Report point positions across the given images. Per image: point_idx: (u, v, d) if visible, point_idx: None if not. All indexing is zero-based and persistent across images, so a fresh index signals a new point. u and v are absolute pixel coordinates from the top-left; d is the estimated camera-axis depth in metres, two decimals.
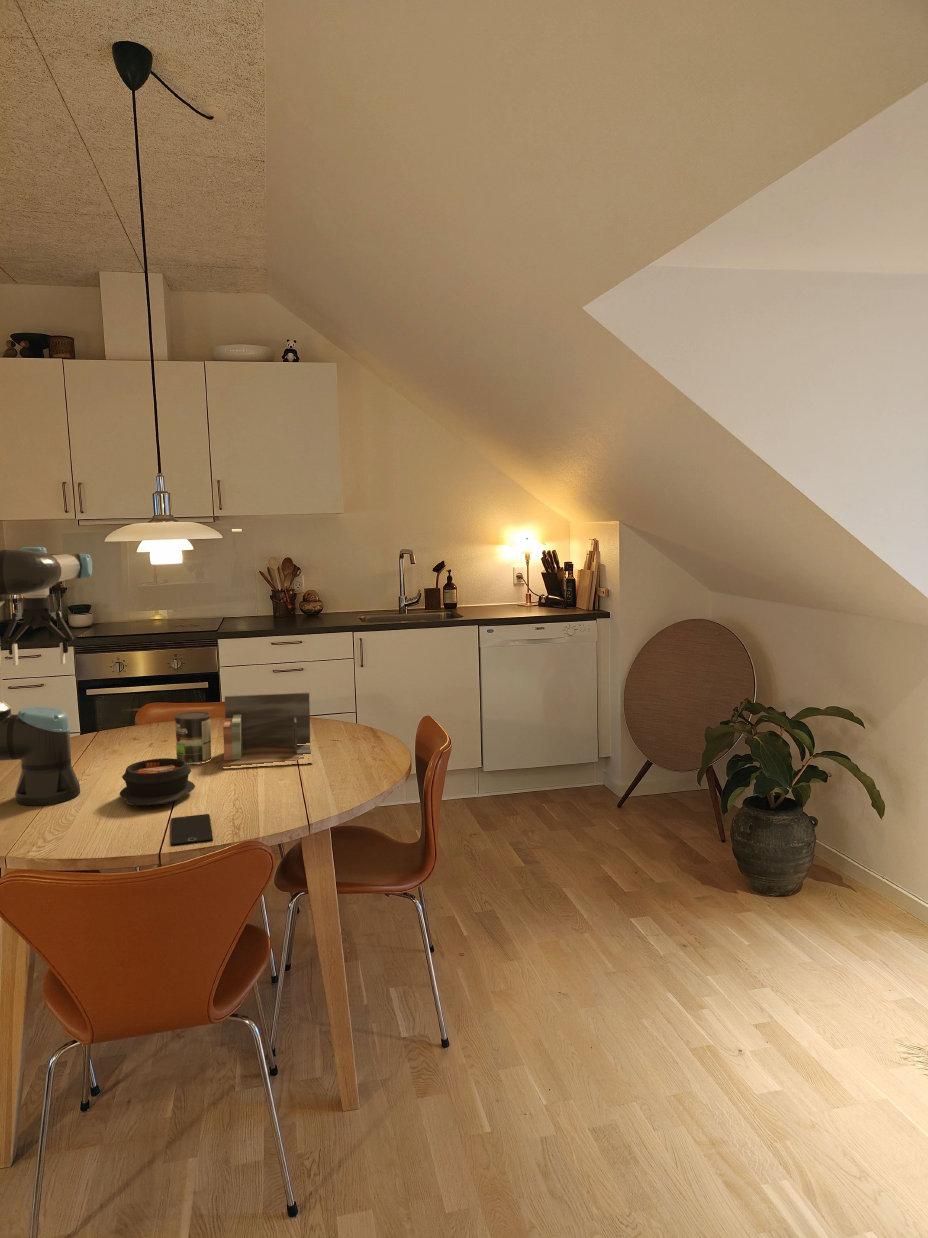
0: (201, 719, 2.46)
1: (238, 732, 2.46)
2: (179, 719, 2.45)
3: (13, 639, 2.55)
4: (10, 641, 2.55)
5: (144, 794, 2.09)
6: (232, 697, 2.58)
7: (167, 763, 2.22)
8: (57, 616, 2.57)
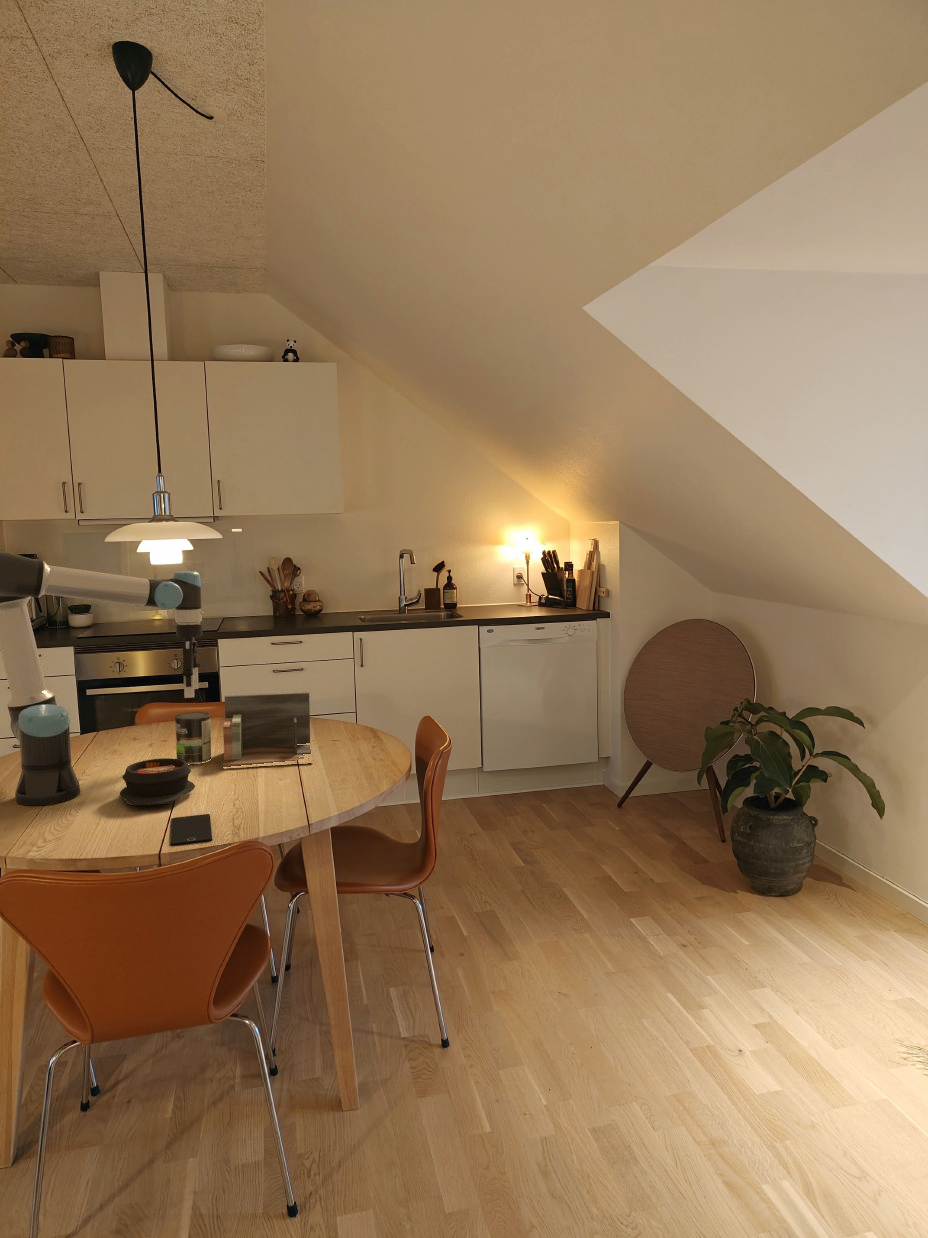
0: (201, 719, 2.46)
1: (238, 732, 2.46)
2: (179, 719, 2.45)
3: None
4: None
5: (144, 794, 2.09)
6: (232, 697, 2.58)
7: (167, 763, 2.22)
8: None
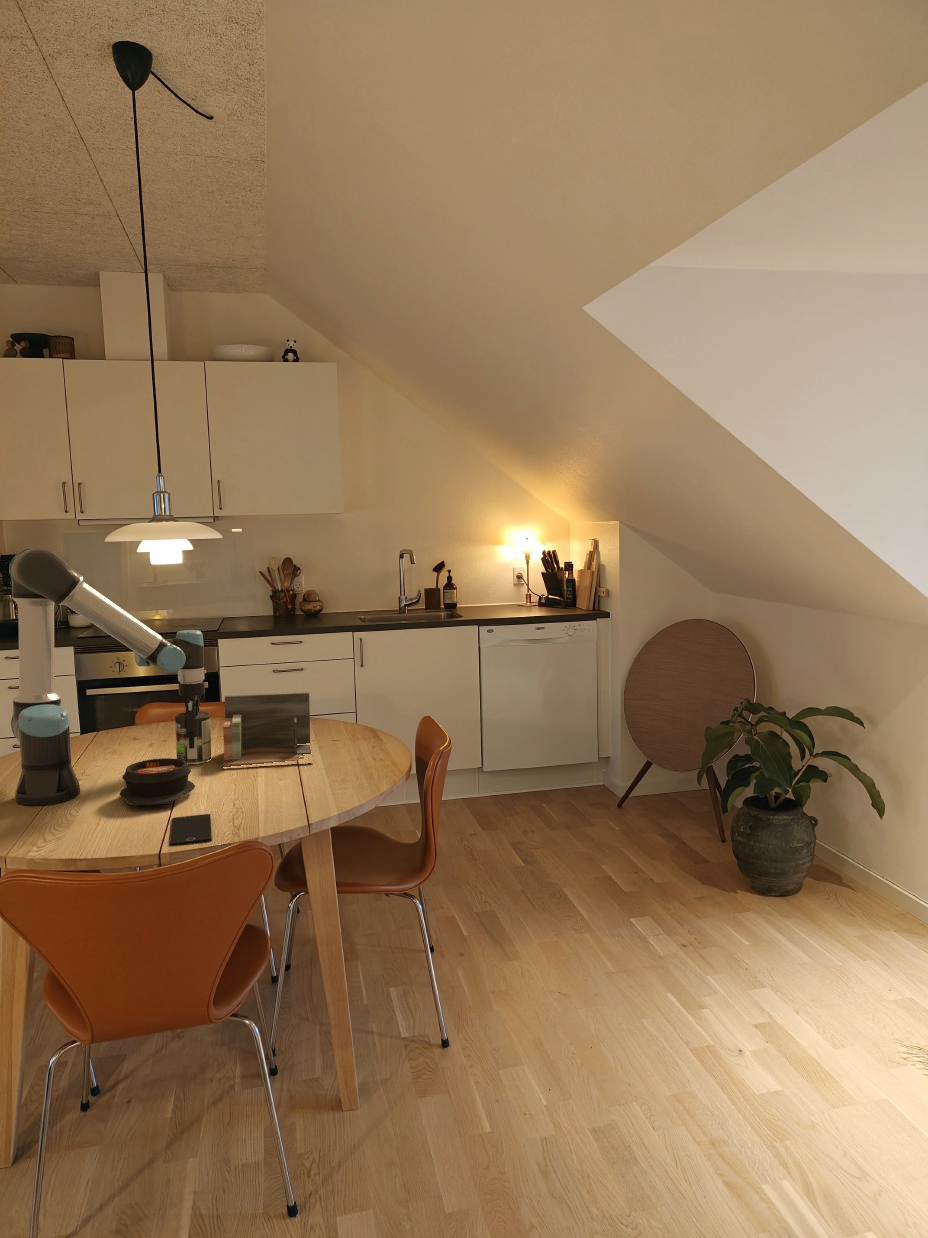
0: (201, 719, 2.46)
1: (238, 732, 2.46)
2: (179, 719, 2.45)
3: None
4: None
5: (144, 794, 2.09)
6: (232, 697, 2.58)
7: (167, 763, 2.22)
8: (186, 708, 2.43)
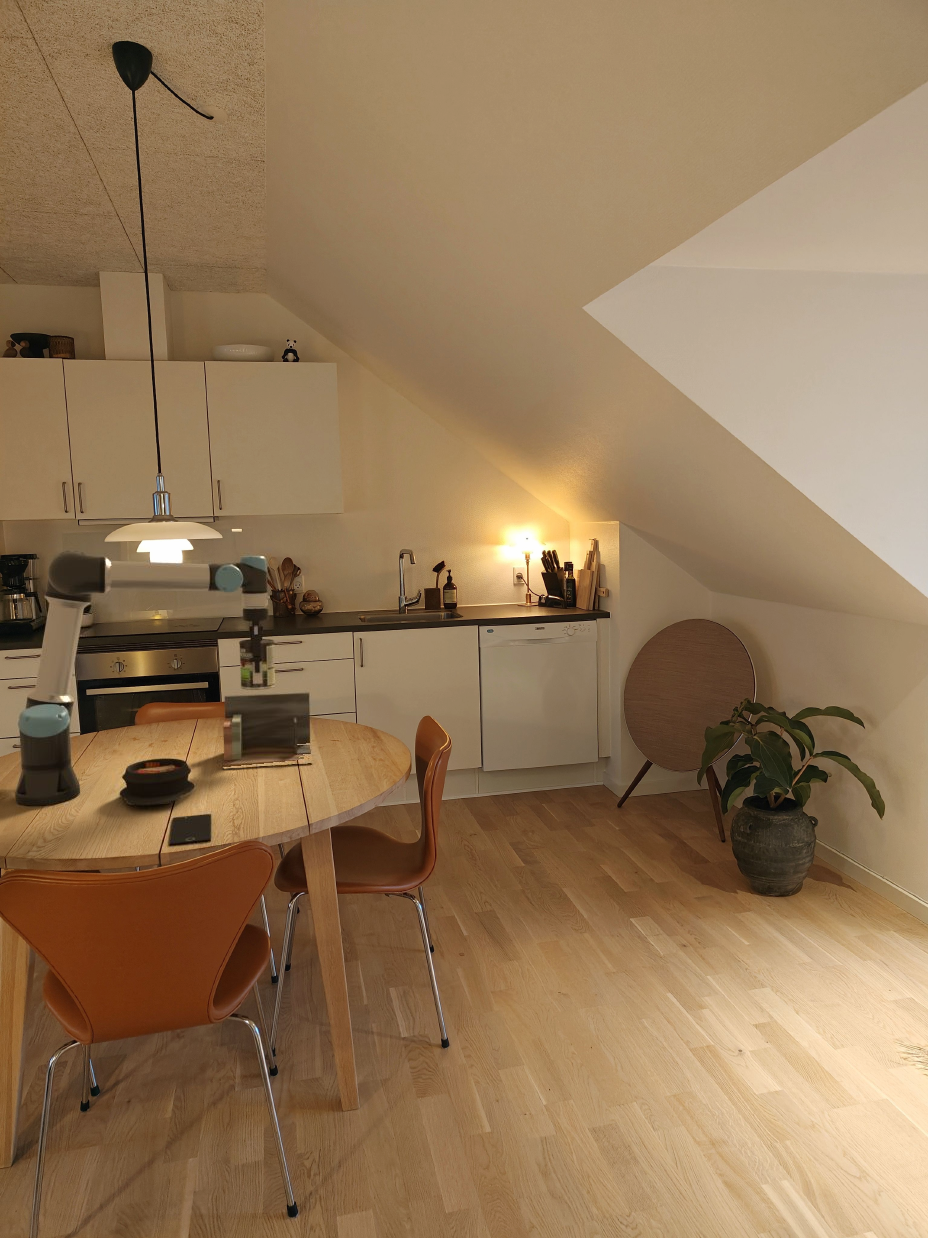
0: (266, 644, 2.46)
1: (238, 732, 2.46)
2: (244, 644, 2.45)
3: None
4: None
5: (144, 794, 2.09)
6: (232, 697, 2.58)
7: (167, 763, 2.22)
8: (251, 632, 2.42)
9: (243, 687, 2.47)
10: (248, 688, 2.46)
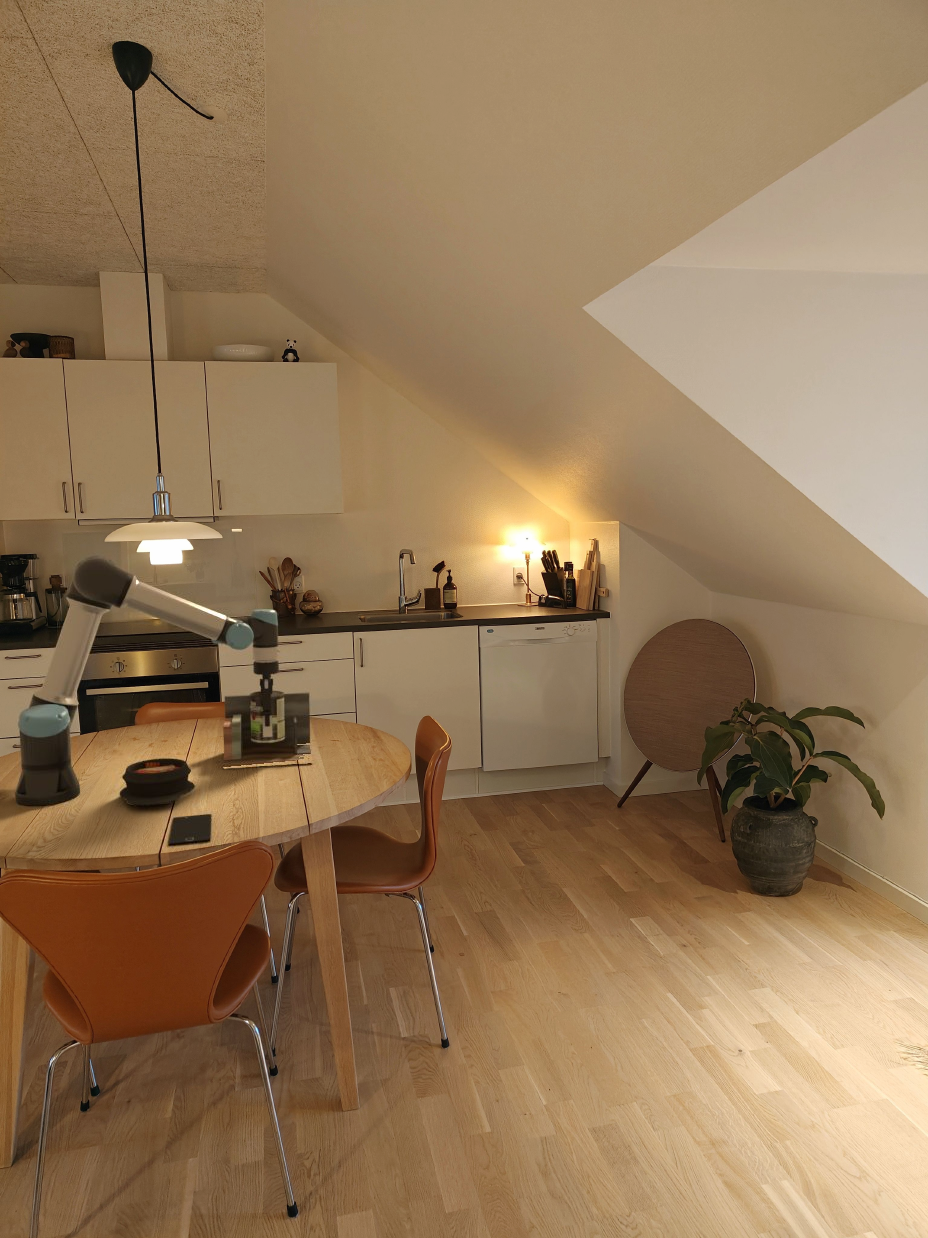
0: (276, 697, 2.47)
1: (238, 732, 2.46)
2: (255, 697, 2.46)
3: None
4: None
5: (144, 794, 2.09)
6: (232, 697, 2.58)
7: (167, 763, 2.22)
8: (262, 686, 2.44)
9: (253, 740, 2.49)
10: (258, 741, 2.47)
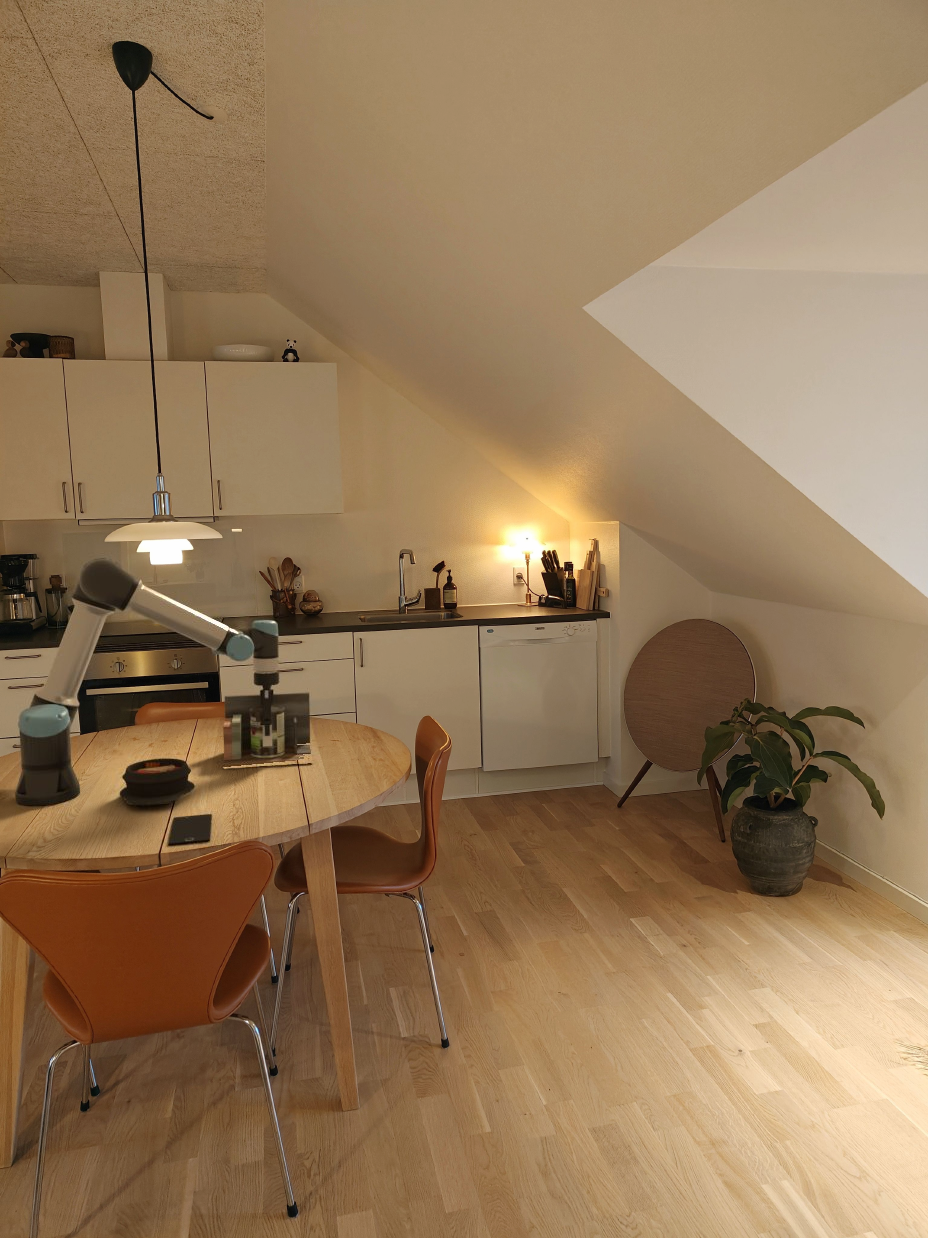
0: (276, 712, 2.48)
1: (238, 732, 2.46)
2: (255, 712, 2.47)
3: None
4: None
5: (144, 794, 2.09)
6: (232, 697, 2.58)
7: (167, 763, 2.22)
8: (262, 695, 2.44)
9: (253, 755, 2.49)
10: (258, 756, 2.48)
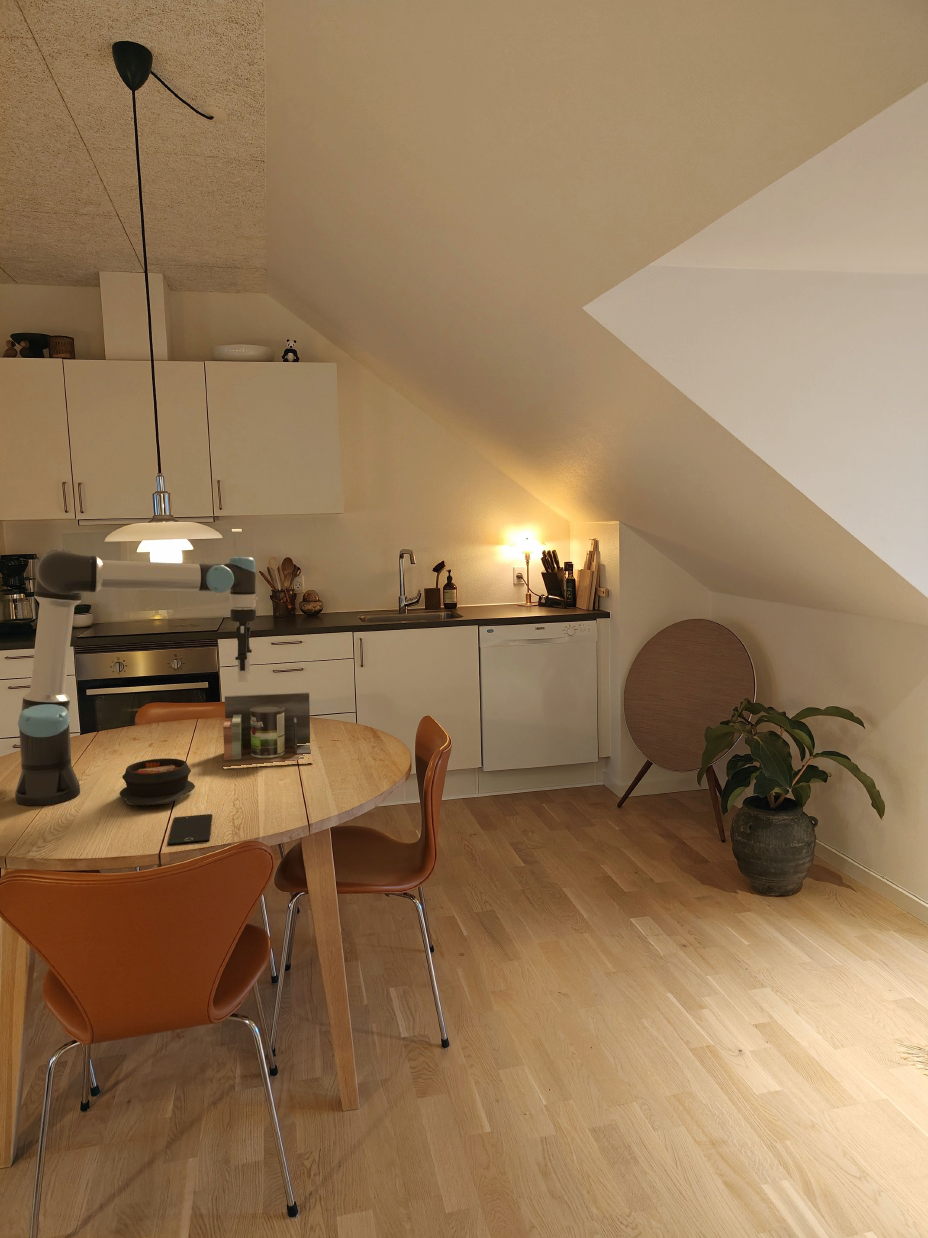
0: (276, 712, 2.48)
1: (238, 732, 2.46)
2: (255, 712, 2.47)
3: None
4: None
5: (144, 794, 2.09)
6: (232, 697, 2.58)
7: (167, 763, 2.22)
8: (238, 630, 2.43)
9: (253, 755, 2.49)
10: (258, 756, 2.48)
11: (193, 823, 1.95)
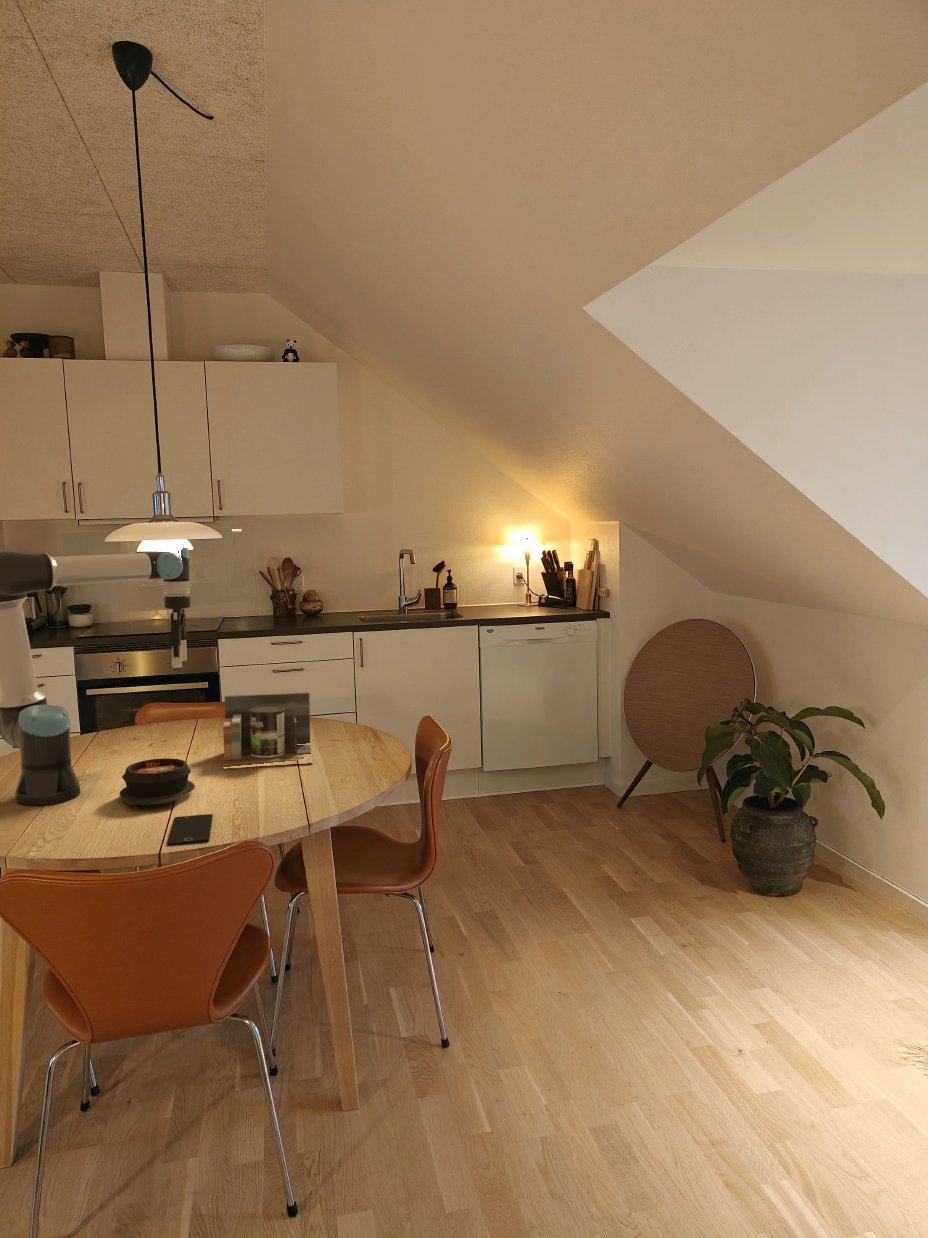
0: (276, 712, 2.48)
1: (238, 732, 2.46)
2: (255, 712, 2.47)
3: None
4: None
5: (144, 794, 2.09)
6: (232, 697, 2.58)
7: (167, 763, 2.22)
8: (171, 617, 2.46)
9: (253, 755, 2.49)
10: (258, 756, 2.48)
11: (193, 823, 1.95)
